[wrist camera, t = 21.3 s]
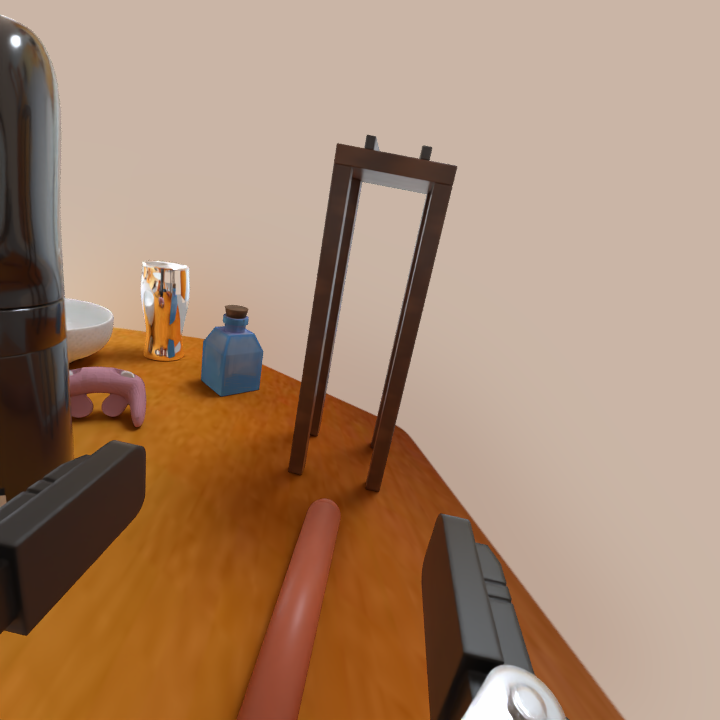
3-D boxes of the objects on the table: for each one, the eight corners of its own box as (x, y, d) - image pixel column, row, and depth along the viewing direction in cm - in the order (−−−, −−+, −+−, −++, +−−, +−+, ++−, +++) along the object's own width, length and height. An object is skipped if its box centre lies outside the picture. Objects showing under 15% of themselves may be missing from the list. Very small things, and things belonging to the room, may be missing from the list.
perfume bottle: (238, 374, 64) (245, 302, 60) (259, 389, 60) (267, 313, 56) (201, 379, 59) (205, 302, 56) (220, 396, 56) (227, 314, 52)
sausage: (269, 864, 17) (271, 823, 16) (200, 849, 17) (199, 808, 16) (341, 521, 37) (344, 494, 36) (309, 516, 37) (311, 489, 36)
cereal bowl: (-68, 380, 46) (-78, 322, 44) (-6, 336, 60) (-12, 290, 58) (102, 382, 53) (101, 332, 51) (122, 342, 67) (121, 302, 65)
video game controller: (146, 425, 48) (147, 368, 49) (144, 427, 44) (146, 365, 45) (45, 430, 44) (48, 367, 44) (33, 432, 40) (37, 363, 40)
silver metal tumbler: (141, 346, 67) (142, 258, 62) (186, 348, 70) (189, 263, 66) (139, 361, 61) (139, 265, 57) (187, 362, 64) (191, 271, 60)
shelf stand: (287, 472, 42) (338, 129, 32) (308, 428, 52) (352, 153, 41) (379, 492, 42) (460, 152, 31) (382, 444, 51) (446, 171, 41)
